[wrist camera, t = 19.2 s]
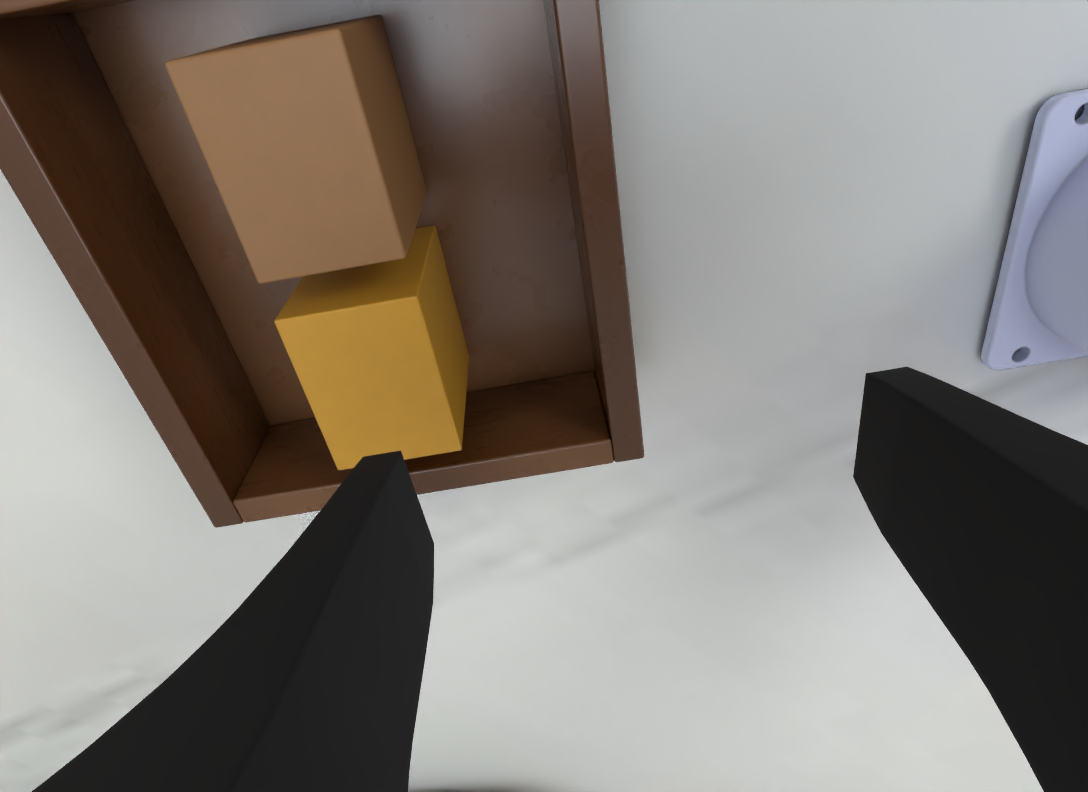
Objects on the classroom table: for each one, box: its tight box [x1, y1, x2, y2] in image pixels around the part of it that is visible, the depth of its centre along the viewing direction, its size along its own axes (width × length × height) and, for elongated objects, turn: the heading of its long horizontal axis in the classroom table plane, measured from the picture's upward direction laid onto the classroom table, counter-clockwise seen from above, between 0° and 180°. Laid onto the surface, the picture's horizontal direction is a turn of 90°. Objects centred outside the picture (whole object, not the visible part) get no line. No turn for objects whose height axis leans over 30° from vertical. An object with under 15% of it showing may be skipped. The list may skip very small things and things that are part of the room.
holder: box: [0, 0, 644, 527], centre depth 16 cm, size 12×13×4 cm
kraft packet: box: [165, 15, 427, 284], centre depth 14 cm, size 3×4×4 cm
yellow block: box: [274, 225, 469, 470], centre depth 16 cm, size 3×4×4 cm
